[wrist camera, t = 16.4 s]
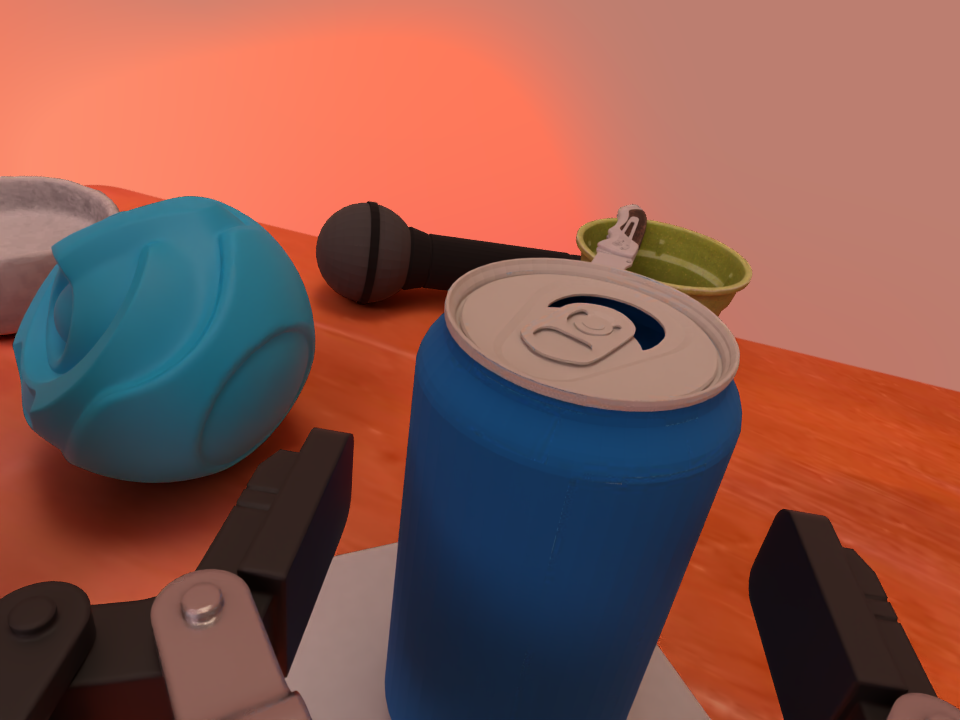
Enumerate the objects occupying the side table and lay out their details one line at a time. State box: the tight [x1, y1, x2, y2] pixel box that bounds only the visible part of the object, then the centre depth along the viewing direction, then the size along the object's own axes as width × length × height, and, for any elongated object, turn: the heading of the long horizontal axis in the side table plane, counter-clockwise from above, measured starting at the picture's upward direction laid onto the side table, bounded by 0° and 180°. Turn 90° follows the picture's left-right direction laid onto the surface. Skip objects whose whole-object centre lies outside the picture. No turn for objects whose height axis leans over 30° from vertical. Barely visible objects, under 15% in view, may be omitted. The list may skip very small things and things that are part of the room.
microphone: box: [316, 201, 581, 304], centre depth 48 cm, size 7×7×20 cm
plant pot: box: [576, 218, 752, 316], centre depth 40 cm, size 9×9×9 cm
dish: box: [0, 176, 119, 335], centre depth 41 cm, size 14×14×5 cm
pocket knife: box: [592, 204, 647, 270], centre depth 36 cm, size 14×1×2 cm
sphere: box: [13, 196, 315, 483], centre depth 29 cm, size 12×11×12 cm
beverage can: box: [385, 258, 742, 720], centre depth 16 cm, size 6×6×12 cm
